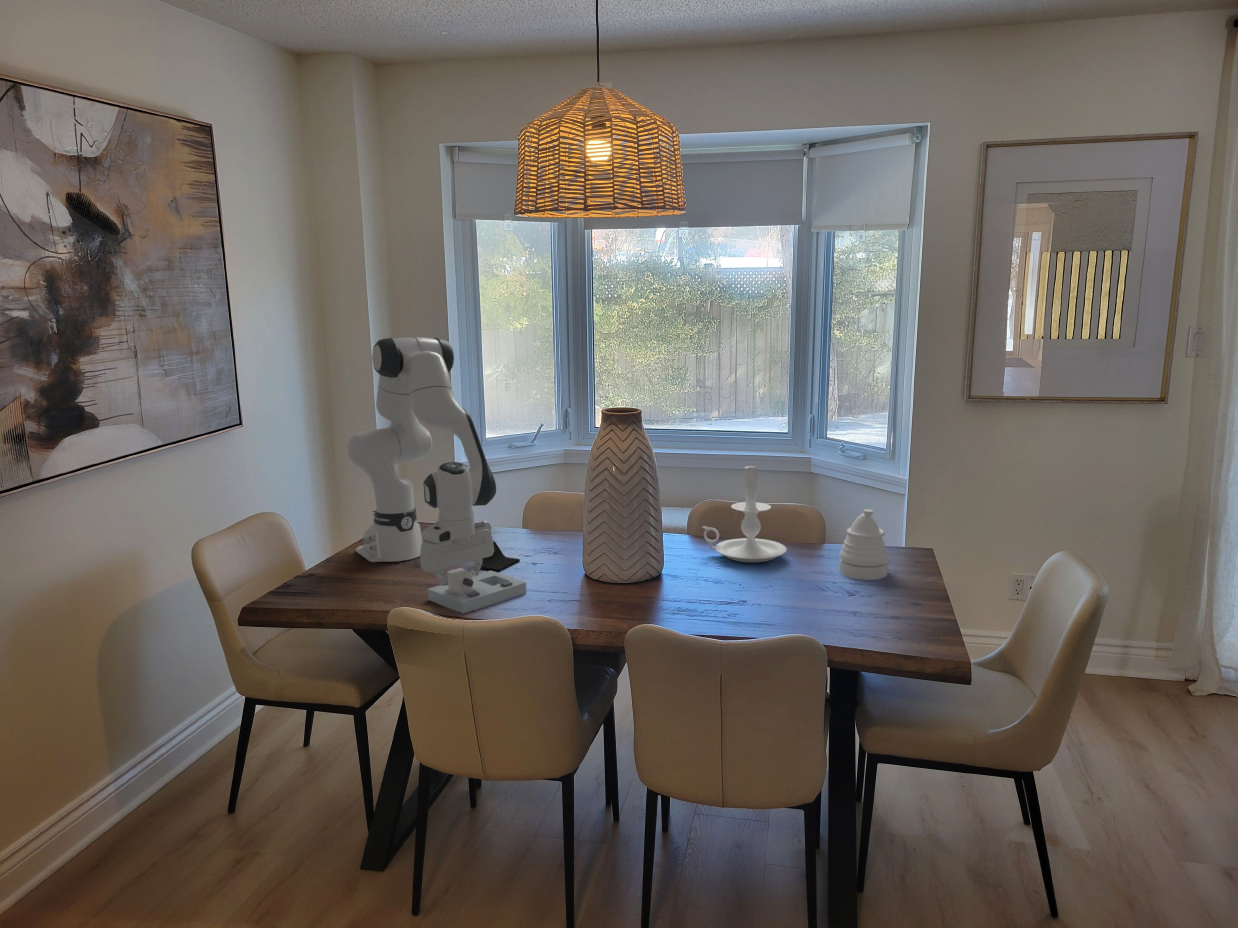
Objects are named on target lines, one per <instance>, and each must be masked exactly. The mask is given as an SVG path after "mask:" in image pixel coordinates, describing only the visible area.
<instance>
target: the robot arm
mask: <svg viewBox="0 0 1238 928" xmlns="http://www.w3.org/2000/svg"><path fill="white" fill-rule="evenodd" d="M371 356H372V357H371V358H372V359H371V360H372V365H373V368H374V370H375V372H376V373H377V374H378V375H379V378H378V384H377V385H378V386H377V393H376V395H377V396H376V403H375V406H376V410H377V412H378V414H379V415H380V417H382V418H384V419H385V420H387V421H390V425H389V427H385V428H376V429H368V430H364V431H361V432H358V433H356V434H354V435H352V436H351V437H350V439H349V441H348V444H347V454H348V457H349V459H350V462H352V464H353V465H354V466H356V467H358V468H359V469H361V470H362V471H363V472H365V474H366V475H367V476H368V478H369V480H370V482H371V484H372V487H373V491H374V493H373V494H374V499H375V508H376V510H373V511H372V513H373V514H372V515H373V523H371V525H370V526H369V527H368V528H367V529H366V530H365V531H364V533H363V536H362V539H361V540H362V543H363V545H359V546H357V547H356V549H355V552H356V553H357V554H359V555H361V557H363V558H365V560H367V561H368V562H370V563H378V562H379V563H380V562H390V563H391V562H392V563H393V562H394V563H395V562H402V561H408V560H413V559H416V558H418V557H419V558H420V559H419V560H420V567H421V569H422V570H423V571H425V572H428V573H429V574H430V573H435V575H436V576H437V578H438V579H439V585H441V586H445V585H448V584H449V583H448V577H445V576H444V574H445V569H449V568H453V567H457V566H459V565H460V566H461V565H463V564H468V563H470V562H473V563H474V565H473V567H472V568H471V569H470V570H469V571H470V572H472V576H473V577H476V576H479V574H480V569H481V568H482V567H481V565H482V558H486V557H489V556H492V555H493V553H494V545H493V541H494V539H493V535H492V526H491V524H490V523H489V522H487V521H486V520H484V521H480V522H475V513H474V510H473V506H474V507H475V506H478V507H479V506H487V505H488V504H489V503H490V502H491V501H492V500H493V499H494V497H495V496H496V493H497V483H496V480H495V477H494V475H493V472H492V470H491V467H490V466H489V463H488V461H487V458H486V455H485V452H484V449H483V446H482V443H481V441H480V437H479V434H478V432H477V429H476V426H475V424H474V421H473V419H472V417H471V414H470V413H469V412H468V410H467V409H465V408H463V407H461V406H460V403H458V402H457V400H456V398H455V396H454V391H453V387H452V381H451V377H450V374H449V373H450V372H451V370H452V369H453V366H454V363H455V361H454V360H455V353H454V349H453V347H452V345H451V343H450V342H449V341H448V340H446V339H443V338H439V337H435V338H430V337H423V336H422V337H421V336H412V337H396V338H392V337H385V338H381V339H379V340H377V342H376V343H375V344H374V346H373V349H372V354H371ZM420 422H421V423H423V424H425V425H426V426H429V427H431V428H435V429H438V430H442V431H446V432H448V433H451V434H453V435H455V436H456V437H457V438H458V440H460V442H461V445H462V447H463V450H464V451H463V452H464V454H465V456H466V459H467V462H468V465H469V466H468V465H466V464H465V463H463V462H458V461H450V462H445V463H444V462H443V463H442V464H440V465H439V466H438V468H437V471H434V472H432V473H430V474H428V475H427V477H426V478H425V479H424V481H423V495H424V496H423V498H424V503H426V504H427V505H429V506H430V507H431V508H433V509H438V510H439V511H438V515H437V517H438V519H437V520H436V522H434V523H433V524H432V525H429V526H428V527H427V528H424V529H423V530H422V529H421V526H420V523H418V522H417V519H418V518H417V514H418V513H417V508H416V507H415V501H414V500H415V497H414V485H413V483H412V482H411V481H410V480H409V479H408V478H406V476H402V475H400V474H398V473H397V472H396V469H395V465H399V464H404V463H410V462H415V461H418V460H421V459H423V458H426V457H428V456H429V455H430V453H431V452H432V449H433V437H432V435H431V433H430V431H429V430H428V429H427V428H426V426H424V425H422V424H421V423H420Z"/></svg>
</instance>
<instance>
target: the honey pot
mask: <svg viewBox="0 0 1238 928" xmlns="http://www.w3.org/2000/svg"><path fill="white" fill-rule="evenodd" d="M862 511H863V513H861V514H860V515H858V516H857V517H856V518H855V520H854V521H853V523H852V525H851V526H850V527H848V528H847V529H846V534H847V535H846V537H845V539H844V541H843V544H842V548H841V550H840V552H839V564H838V566H839V567H838V569H839V570H838V571H839V573H840V574H841V575H842V574H843V575H842V576H844V575H845V576H844V577H848V578H851V579H857V580H864V581H869V580H872V581H873V580H880V579H884V578H886V577H887V576H888V572H889V571H888V568H889V553H888V552H887V549H886V548H887V547H886V546H885V544H886V543H885V541H884V539H883V537H884V536H885V535H886V532H885V531H884V529H881V528H880V527H879V526H878V524H877V522H876V520H875V519H874V518H873V514H874V509H870V508H869V509H868V508H865V509H863V510H862Z"/></svg>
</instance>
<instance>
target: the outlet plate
mask: <svg viewBox="0 0 1238 928" xmlns="http://www.w3.org/2000/svg"><path fill="white" fill-rule="evenodd" d="M472 580H473V582H474V583H473V592H470V593H467V594H465V595H462V596H457V595H454V594H452V593H449V592H448V585H445V586H441V585H440V584H439V585H437V586H433V587H430V588H428V589H427V592H428V594H427V595H428V601H431V602H433V603H435V604H437V605H440V606H442V607H445V608H447V609H449V608H450V610H453V611H454V610H456V611H455V612H457V611H458V613H459V612H461V613H460V614H462V613H463V614H462V615H465V614H467V613H466V612H468V613H471V612H473V611H472V610H474V611H478V610H480V609H483V608H486V607H488V606H489V607H490V606H491V605H495V604H498V603H502V602H505V601H507V600H511V599H513V598H516V597H519V596H523V595H525V594H527V582H526V581H524V580H520V579H517V578H514V577H511V576H508V575H505V574H502V573H500V572H495V571H491V570H490V571H488V570H486V571H484V572H481V573H480V572H479V576H476V577H473V576H472ZM479 608H480V609H479ZM470 611H471V612H470ZM464 613H465V614H464Z"/></svg>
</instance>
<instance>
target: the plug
mask: <svg viewBox="0 0 1238 928" xmlns="http://www.w3.org/2000/svg"><path fill="white" fill-rule="evenodd" d="M446 576H447V578H448V583H449V584H448V592H449V593H452V594H454V595H457V596H462V595H465V594H467V593H470V592H473V583H474V582H473V580H472V572H470V570H467V569H465V568H462V567H459V568H456V569H451V570H448V571H447V573H446Z"/></svg>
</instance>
